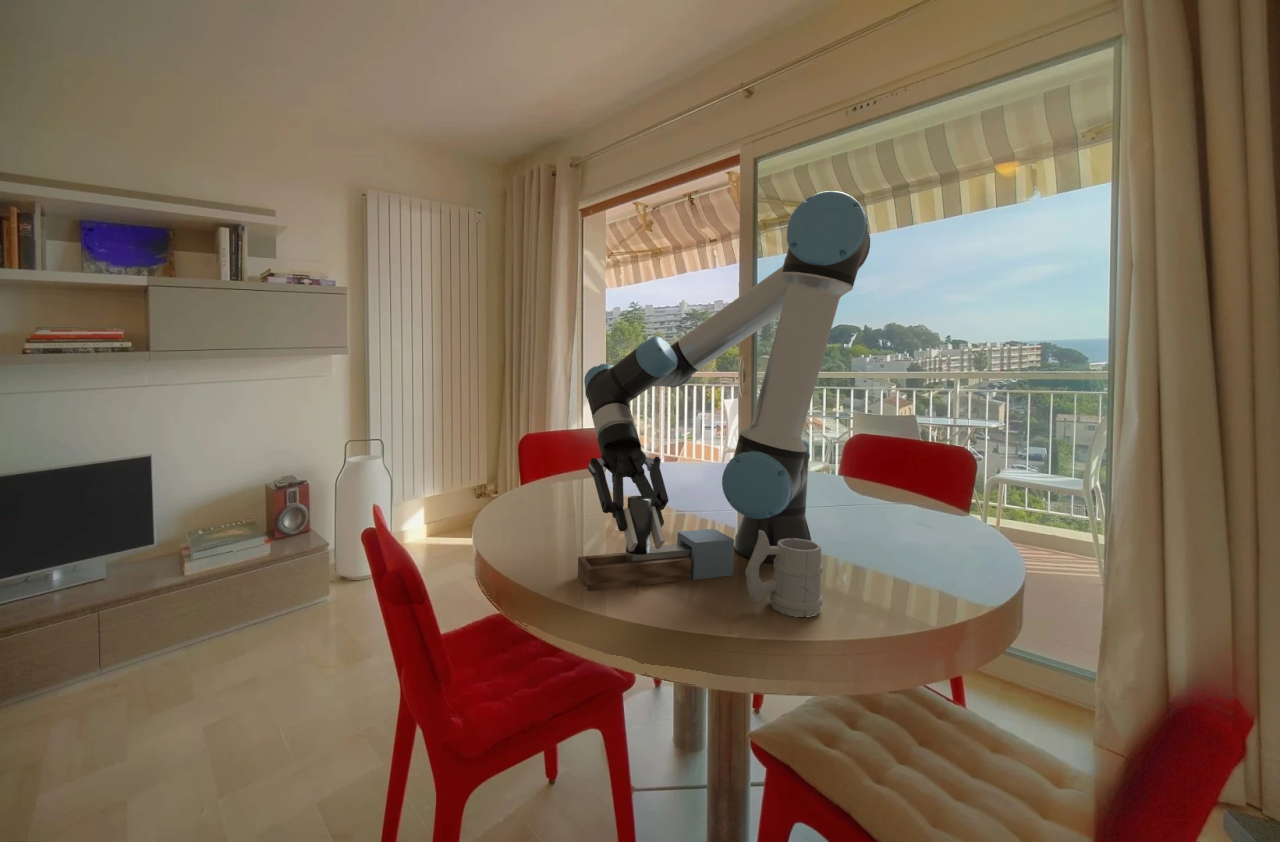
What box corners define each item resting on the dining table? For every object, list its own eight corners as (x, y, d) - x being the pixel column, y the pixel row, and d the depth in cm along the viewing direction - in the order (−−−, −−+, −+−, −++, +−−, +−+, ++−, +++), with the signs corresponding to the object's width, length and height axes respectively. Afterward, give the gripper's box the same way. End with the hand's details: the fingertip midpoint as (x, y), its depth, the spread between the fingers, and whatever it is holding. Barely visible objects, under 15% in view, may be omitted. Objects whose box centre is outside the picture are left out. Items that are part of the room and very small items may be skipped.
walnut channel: (674, 567, 101) (675, 548, 100) (690, 579, 95) (691, 559, 94) (577, 577, 94) (578, 556, 94) (588, 591, 88) (588, 569, 88)
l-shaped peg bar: (705, 559, 101) (708, 492, 100) (715, 566, 98) (719, 496, 97) (622, 568, 96) (624, 496, 95) (630, 576, 92) (632, 501, 91)
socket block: (712, 562, 104) (714, 528, 103) (732, 575, 97) (734, 539, 97) (676, 566, 101) (677, 531, 101) (693, 579, 95) (695, 542, 94)
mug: (831, 618, 81) (836, 537, 80) (753, 620, 79) (757, 538, 78) (808, 597, 89) (812, 523, 88) (736, 599, 87) (740, 523, 86)
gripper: (652, 445, 110) (686, 552, 96) (568, 446, 104) (591, 561, 90) (664, 420, 105) (702, 530, 91) (576, 420, 99) (602, 538, 85)
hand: (646, 545), depth 90 cm, fingers closed on l-shaped peg bar, 4 cm apart
